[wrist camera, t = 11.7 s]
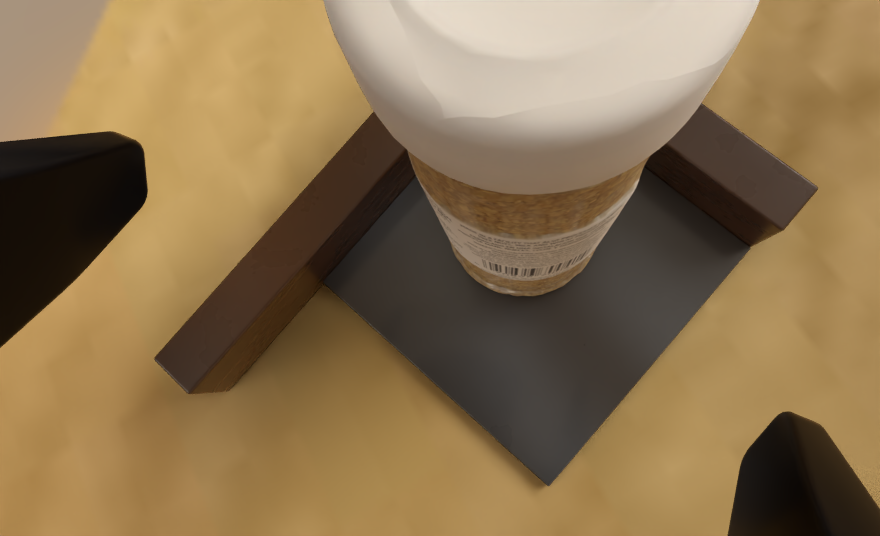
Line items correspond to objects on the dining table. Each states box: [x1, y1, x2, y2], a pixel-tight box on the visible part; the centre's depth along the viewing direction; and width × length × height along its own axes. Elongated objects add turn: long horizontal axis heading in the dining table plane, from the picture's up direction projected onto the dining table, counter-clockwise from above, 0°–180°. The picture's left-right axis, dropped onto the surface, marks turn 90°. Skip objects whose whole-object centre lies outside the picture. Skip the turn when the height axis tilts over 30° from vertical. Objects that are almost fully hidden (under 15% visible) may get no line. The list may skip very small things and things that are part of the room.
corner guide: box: [154, 103, 818, 486], centre depth 18 cm, size 15×10×2 cm
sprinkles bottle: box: [323, 0, 760, 296], centre depth 13 cm, size 5×5×14 cm
